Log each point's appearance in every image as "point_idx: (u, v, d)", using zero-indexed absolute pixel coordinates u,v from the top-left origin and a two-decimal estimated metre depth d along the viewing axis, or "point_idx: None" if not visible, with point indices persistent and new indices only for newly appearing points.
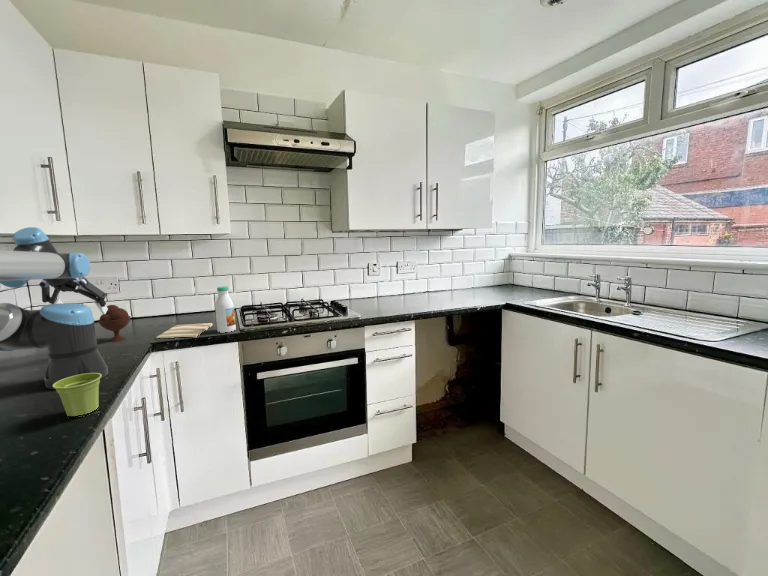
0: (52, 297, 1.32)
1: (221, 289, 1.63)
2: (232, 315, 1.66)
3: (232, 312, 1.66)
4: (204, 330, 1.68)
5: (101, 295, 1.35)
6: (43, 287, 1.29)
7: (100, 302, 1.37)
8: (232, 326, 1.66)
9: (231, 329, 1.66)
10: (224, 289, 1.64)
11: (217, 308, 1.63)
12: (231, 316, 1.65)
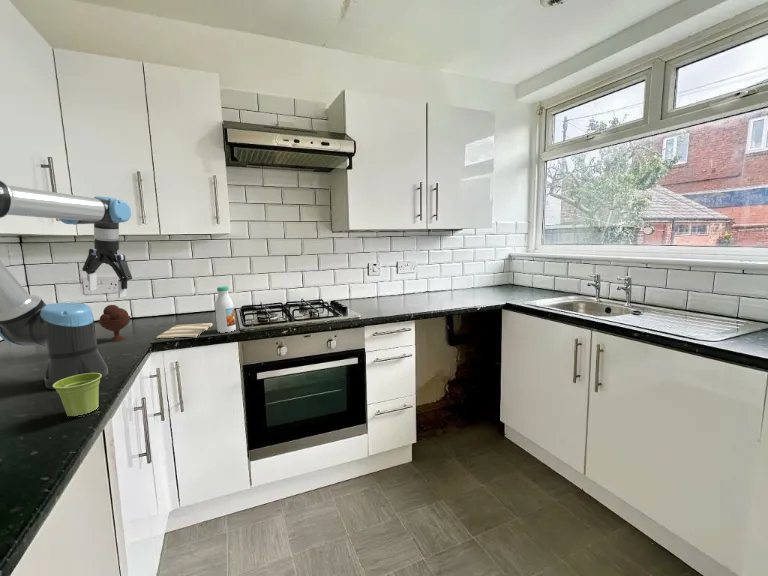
0: (91, 266, 1.43)
1: (221, 289, 1.63)
2: (232, 315, 1.66)
3: (232, 312, 1.66)
4: (204, 330, 1.68)
5: (127, 275, 1.41)
6: (90, 254, 1.42)
7: (122, 283, 1.42)
8: (232, 326, 1.66)
9: (231, 329, 1.66)
10: (224, 289, 1.64)
11: (217, 308, 1.63)
12: (231, 316, 1.65)
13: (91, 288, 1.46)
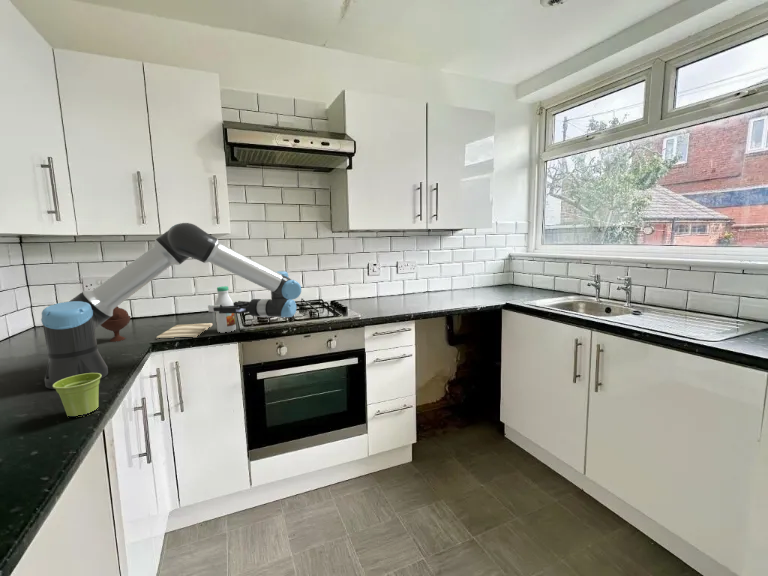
0: (240, 302, 1.69)
1: (221, 289, 1.63)
2: (232, 315, 1.66)
3: None
4: (204, 330, 1.68)
5: (222, 309, 1.59)
6: None
7: (218, 307, 1.61)
8: (232, 326, 1.66)
9: (231, 329, 1.66)
10: (224, 289, 1.63)
11: None
12: (231, 316, 1.65)
13: None
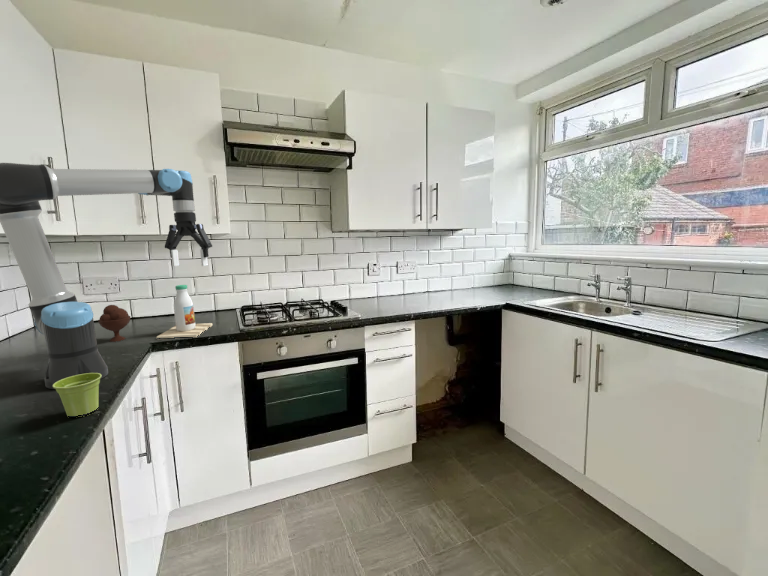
0: (172, 242, 1.49)
1: (179, 287, 1.63)
2: (191, 313, 1.66)
3: (191, 310, 1.66)
4: (204, 330, 1.68)
5: (207, 242, 1.47)
6: (170, 229, 1.49)
7: (204, 251, 1.47)
8: (190, 324, 1.66)
9: (190, 327, 1.66)
10: (182, 287, 1.63)
11: (175, 306, 1.63)
12: (190, 314, 1.65)
13: (175, 264, 1.51)
